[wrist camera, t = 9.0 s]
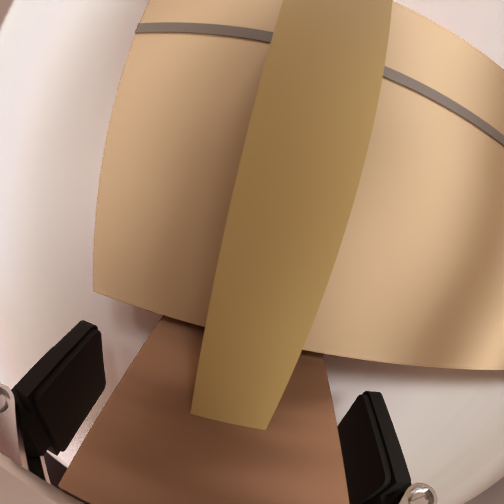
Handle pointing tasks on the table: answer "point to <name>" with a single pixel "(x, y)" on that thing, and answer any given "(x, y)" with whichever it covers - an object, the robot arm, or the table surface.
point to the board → (366, 200)
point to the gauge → (256, 296)
